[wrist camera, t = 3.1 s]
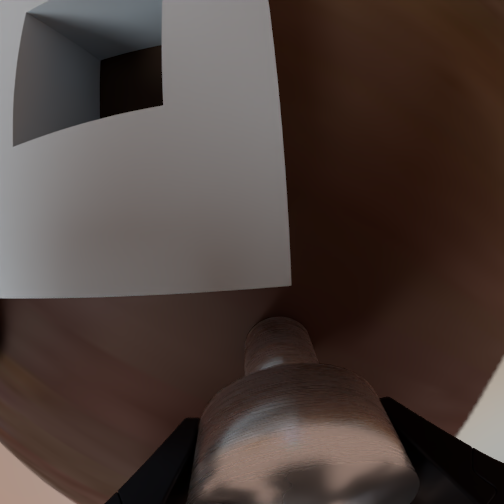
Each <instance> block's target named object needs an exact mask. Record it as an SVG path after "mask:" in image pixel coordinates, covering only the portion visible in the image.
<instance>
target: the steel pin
mask: <svg viewBox="0 0 504 504" xmlns="http://www.w3.org/2000/svg"><path fill="white" fill-rule="evenodd" d="M418 489H419V478H418V476H417V474H416V471H415V469H414V467H413V465H412V463H411V461H410V459H409V457H408V455H407V453H406V451H405V449H404V447H403V445H402V443H401V441H400V439H399V437H398V435H397V433H396V431H395V429H394V427H393V425H392V423H391V421H390V419H389V417H388V415H387V413H386V411H385V409H384V408H383V406H382V404H381V402H380V400H379V398H378V396H377V394H376V392H375V390H374V389H373V388H372V386H371V385H370V384H369V383H368V382H367V381H366V380H365V379H364V378H363V377H361V376H359V375H358V374H356V373H354V372H352V371H350V370H347V369H345V368H341V367H338V366H334V365H328V364H321V363H319V362H318V360H317V357H316V354H315V351H314V348H313V345H312V343H311V340H310V337H309V334H308V332H307V330H306V329H305V327H304V326H303V325H302V324H301V323H299V322H298V321H296V320H294V319H291V318H288V317H271V318H268V319H265V320H263V321H261V322H259V323H258V324H256V325H255V326H254V327H253V328H252V329H251V330H250V332H249V333H248V335H247V337H246V341H245V376H244V377H241V378H239V379H237V380H235V381H234V382H232V383H230V384H229V385H227V386H226V387H224V388H223V389H222V390H220V391H219V392H218V393H217V394H216V395H215V396H214V397H213V398H212V399H211V400H210V401H209V403H208V404H207V406H206V407H205V409H204V411H203V413H202V415H201V420H200V424H199V430H198V436H197V442H196V448H195V454H194V460H193V466H192V472H191V478H190V485H189V491H188V498H187V504H410V503H411V502H412V500H413V499H414V498H415V496H416V494H417V492H418Z"/></svg>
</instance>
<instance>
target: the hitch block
mask: <svg viewBox="0 0 504 504" xmlns="http://www.w3.org/2000/svg"><path fill="white" fill-rule="evenodd" d="M159 45H162V86H163V105H162V106H157V107H151V108H146V109H141V110H136V111H131V112H127V113H122V114H118V115H114V116H110V117H105V118H101V119H100V60H103V59H107V58H110V57H114V56H117V55H121V54H125V53H128V52H132V51H136V50H141V49H145V48H149V47H154V46H159ZM281 286H291V262H290V241H289V221H288V204H287V188H286V173H285V159H284V146H283V134H282V122H281V111H280V100H279V89H278V79H277V69H276V60H275V51H274V42H273V34H272V25H271V17H270V9H269V2H268V0H0V298H84V297H117V296H142V295H163V294H182V293H199V292H214V291H229V290H243V289H256V288H269V287H281Z"/></svg>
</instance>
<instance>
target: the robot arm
mask: <svg viewBox="0 0 504 504" xmlns="http://www.w3.org/2000/svg"><path fill="white" fill-rule="evenodd" d="M379 400H380V402H381V404H382V406H383V408H384V409H385V411H386V413H387V415H388V417H389V419H390V421H391V423H392V425H393V427H394V429H395V431H396V433H397V435H398V437H399V439H400V441H401V443H402V445H403V447H404V449H405V451H406V453H407V455H408V457H409V459H410V461H411V463H412V465H413V467H414V469H415V471H416V474H417V476H418V478H419V489H418V492H417V494H416V496H415V498H414V499H413V500H412V502H411V503H410V504H504V463H502V462H500V461H498V460H495V459H493V458H491V457H489V456H488V455H486V454H483V453H482V452H480V451H478V450H477V449H475V448H472V447H471V446H469V445H468V444H466V443H464V442H462V441H461V440H459V439H457V438H456V437H454V436H452V435H451V434H449V433H447V432H445V431H444V430H442V429H440V428H439V427H437V426H435V425H434V424H432V423H431V422H429V421H427V420H426V419H424V418H422V417H421V416H419V415H417V414H416V413H414V412H413V411H411V410H409V409H408V408H406V407H405V406H403V405H401V404H400V403H398V402H397V401H395V400H394V399H392V398H390V397H383V398H379ZM199 424H200V418H185V419H184V420H183V421H182V422H181V424H180V425H179V426H178V427H177V428H176V429H175V430H174V431H173V433H172V434H171V435H170V436H169V437H168V438H167V439H166V440H165V441H164V443H163V444H162V445H161V446H160V447H159V448H158V449H157V450H156V451H155V452H154V453H153V455H152V456H151V457H150V458H149V459H148V460H147V461H146V462H145V463H144V464H143V465H142V466H141V467H140V468H139V469H138V470H137V472H136V473H135V474H134V475H133V476H132V477H131V478H130V479H129V480H128V481H127V482H126V483H125V484H124V485H123V486H122V487H121V488H120V489H119V490H118V493H117V492H116V493H115V494H114V495H113V496H112V497H111V498H110V499H109V500H108V501H107V502H106V503H105V504H187V498H188V491H189V485H190V478H191V472H192V466H193V460H194V454H195V448H196V442H197V436H198V430H199Z"/></svg>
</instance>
